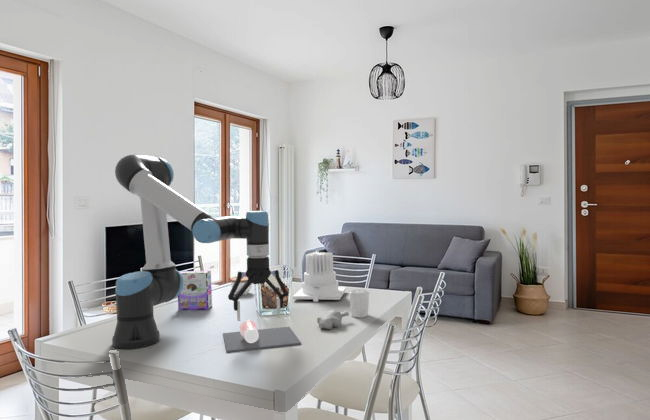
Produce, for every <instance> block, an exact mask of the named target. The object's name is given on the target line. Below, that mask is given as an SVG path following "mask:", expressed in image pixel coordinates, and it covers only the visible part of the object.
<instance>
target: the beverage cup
mask: <svg viewBox="0 0 650 420" xmlns="http://www.w3.org/2000/svg"><path fill="white" fill-rule="evenodd" d="M258 330H259V329H258V325H257V323H256V322H255V321H254V320H252V319H248V320H247V319H246V320H244V321H243V322H242V323H241V324H240V326H239V332H240V333H241V335H242V336H243V337H244V338H245V340H246V341H247V342H248V343H254V342H256V341H257V340H258V337H259V334H258Z"/></svg>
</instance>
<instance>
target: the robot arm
mask: <svg viewBox="0 0 650 420" xmlns="http://www.w3.org/2000/svg"><path fill="white" fill-rule="evenodd" d="M114 174H115V175H114V176H115V177H116V180H117V182H118V184H120V185H121V186H122V187H123V188H124V189H125V190H127V192H129V193H131V194H132V195H136V196H137V197H138V198H139V200H140V209H141V221H142V229H143V230H142V231H143V241H144V242H143V244H144V250H145V251H144V252H145V264H144V266H143V267H142V270H140V271H133V272H129V273H125V274H123V275H121V276H119V277H118V278H117V279H116V281H115V291H114V292H115V302H116V303H115V305H116V326H115V329H114V333H113V336H112V339H111V341H112V342H111V344H112V347H113V348H116V349H123V350H129V349H131V348H132V349H139V348H144V347H149V346H152V345H154V344H156V343H158V342H159V341H160V340H161V339H160V338H161V335H160V331H159V330H158V326H157V323H156V320H155V318H154V317H155V315H154V307H156V306H158V305H160V304H164V303H168V302H170V301H172V300H174V299H176V298H178V295H179V294H180V293H181V291H182V288H183V278H182V275H181V274H180V273H179V272H180V271H179V270H177V268H176V264H175V262H173V261H172V259H171V250H170V247H171V246H170V237H169V228H168V227H169V226H168V216H170V217H171V218H172V219H174V220H175V221H176V222H178V223H180V224H181V225H182V226H184V227H185V228H187V229H188V230H190V231H191V232H192V236H193V237H194V239H195V240H196V241H197V242H199V243H200V244H211V243H215V242H221V241H225V240H231V239H233V240H234V239H237V240H239V239H243V240H244V239H246V256H247V258H246V271H241V270H238V271H237V276H236V277H237V279H236V281H235V283H234V285H233V287H231V290H230V292H229V294H228V296H227V299H228V300H230V301H233V310H234V312H235V311H236V317H237V318H236V319H237V322H238V321H239V322H240V321H241V301H240V298H241V297H242V296H243V295H242V294H243V293H244V292H245V291H246V289H247V288H248V287H249V286H250V285H251V284H252V285H258V284H261V285H263V284H265V283H266V284H267V285H268V286H269V287H270V288H271V289H272V291H273V292H275V294H276V295H277V296H278V297H277V296H276V316H277V318H279V319H280V318H281V308H283V307H284V298H285V297H288V296H289V292H288V290H287V288H286V286H285V285H284V283H283V281H282V278H280V277H281V276H280V272H279V270H278V269H276V268H274V270H270V257H269V255H270V240H269V237H270V236H269V235H270V233H269V232H270V221H269V212H267V211H265V210H250V211H248V210H247V212H246V214H245V216H228V215H225V216H217V217H213V216H212V215H210V214H209V213H208V212H206V211H205V210H203V209H202V208H200V207H199V206H198V205H196V204H194V203H193V202H191V201H190V200H189V199H187V198H185V196H183V195H181V194H180V193H178V192H177V191H175V190H174V189H172V188H171V187H170V185H172V182H173V180H174V178H175V177H174V175H175V174H174V169H173V166H172V165H171V164H170V162H169V161H168V160H166V159H164V158H162V157H158V156H154V155H153V156H152V155H139V154H128V155H125V156H123V157H121V159H119V160H118V162H117V163H116V165H115V169H114ZM167 215H168V216H167ZM271 275H272V276H273V277H275V280H276V281H277V284H278V285H279V287H280V289H281V291H282V292H280V290H278V288H277V287H276V286H275V284H273V282H271V280H270V279H269V277H270V276H271ZM243 277H247V278H248V280H247V281H246V283H245V284H244V285H243V286H242V288H241V289H240V290H239V291H238V293H237V294H236V293H235V292H236V290H237V287H238V285H239V283H240V281H241V278H243Z"/></svg>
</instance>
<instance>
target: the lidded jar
mask: <svg viewBox="0 0 650 420" xmlns="http://www.w3.org/2000/svg"><path fill="white" fill-rule="evenodd" d="M236 279H237V276H235V277H232V278H230V284H231V285H230V287H231V288H232V287H233V285H234V283H235V281H236ZM247 280H248V278H247V276H244V277H243V278H241V281H240V283H239V285H238V287H237V290H236V292H235V295H236V294H237V293H238V291H239V290H240V289H241V288H242V286H243V285H244V284H245V283H246V281H247ZM252 287H253V283H252V284H251V285H250V286H249V287H248V288H247V289H246V291H245V292H244V293H243V294H242V296H245V295H248V294H249V293H250V292H251V289H252ZM244 294H245V295H244Z"/></svg>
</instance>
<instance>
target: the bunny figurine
mask: <svg viewBox="0 0 650 420" xmlns="http://www.w3.org/2000/svg"><path fill="white" fill-rule="evenodd" d="M348 316H350V313H349V311H347V310H345V311H343V312H341V311H337V310H335V309H332V310H327V311H326V312H325V314H324V315H321V316H318V317H317V318H316V319H317V321H316V322H317V324H318V328H319V329H325V330H333V328H335V327H341V326H342V318H344V317H348Z"/></svg>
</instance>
